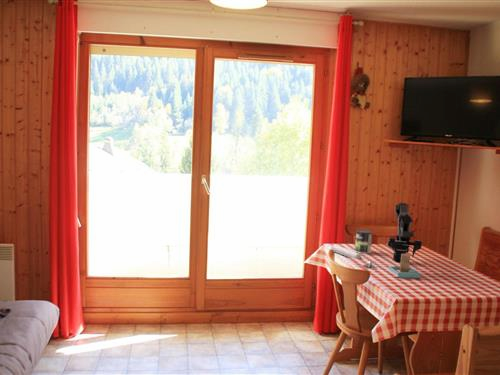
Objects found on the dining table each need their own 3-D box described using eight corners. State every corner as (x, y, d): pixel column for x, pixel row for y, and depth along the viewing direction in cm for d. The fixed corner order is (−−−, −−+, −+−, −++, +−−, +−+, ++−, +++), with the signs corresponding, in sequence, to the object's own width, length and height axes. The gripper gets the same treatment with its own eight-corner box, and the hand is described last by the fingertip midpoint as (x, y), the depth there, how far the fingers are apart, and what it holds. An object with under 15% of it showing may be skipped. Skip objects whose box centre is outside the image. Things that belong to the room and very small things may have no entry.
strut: (399, 272, 289) (401, 253, 288) (407, 273, 288) (409, 254, 287) (400, 274, 285) (401, 255, 284) (408, 275, 284) (410, 256, 283)
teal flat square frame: (409, 271, 294) (410, 266, 294) (420, 278, 281) (420, 273, 281) (388, 271, 292) (388, 266, 292) (397, 278, 279) (398, 272, 279)
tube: (363, 254, 314) (339, 245, 336) (357, 252, 311) (333, 243, 333) (361, 262, 314) (336, 252, 336) (354, 260, 311) (330, 250, 333)
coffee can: (361, 254, 331) (362, 232, 329) (351, 250, 340) (353, 229, 339) (373, 253, 335) (375, 232, 334) (364, 249, 345) (365, 229, 343)
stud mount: (373, 267, 299) (374, 260, 298) (377, 271, 292) (378, 263, 291) (361, 267, 298) (362, 260, 297) (366, 271, 291) (366, 263, 290)
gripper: (389, 224, 296) (388, 247, 287) (423, 227, 292) (423, 250, 283) (387, 234, 305) (387, 257, 296) (420, 237, 301) (420, 260, 292)
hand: (404, 256), depth 291 cm, fingers open, 9 cm apart
